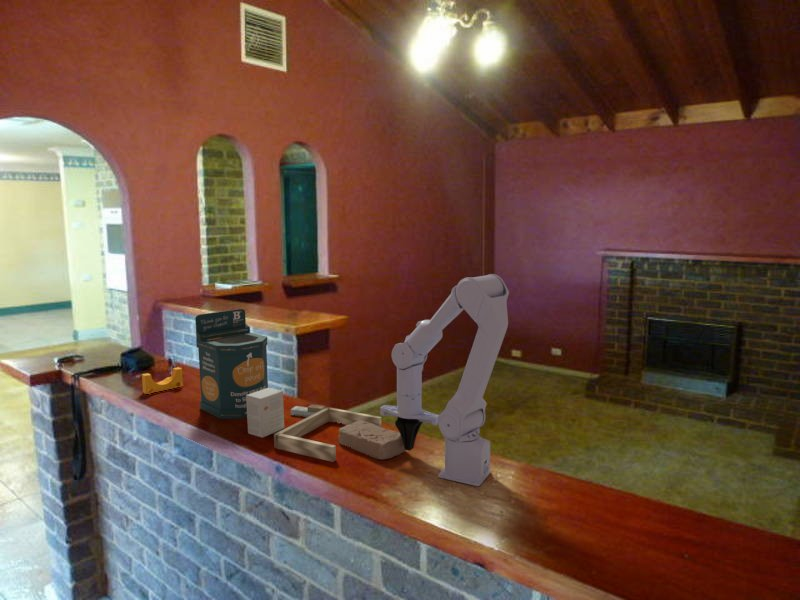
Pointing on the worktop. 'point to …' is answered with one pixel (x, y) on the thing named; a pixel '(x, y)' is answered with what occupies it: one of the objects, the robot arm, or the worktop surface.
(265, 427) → the small box
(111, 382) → the worktop surface
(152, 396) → the worktop surface
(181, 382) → the pipe clamp
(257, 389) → the donation box
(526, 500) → the worktop surface
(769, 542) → the worktop surface
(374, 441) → the brick
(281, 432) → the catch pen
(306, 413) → the scraper bar
